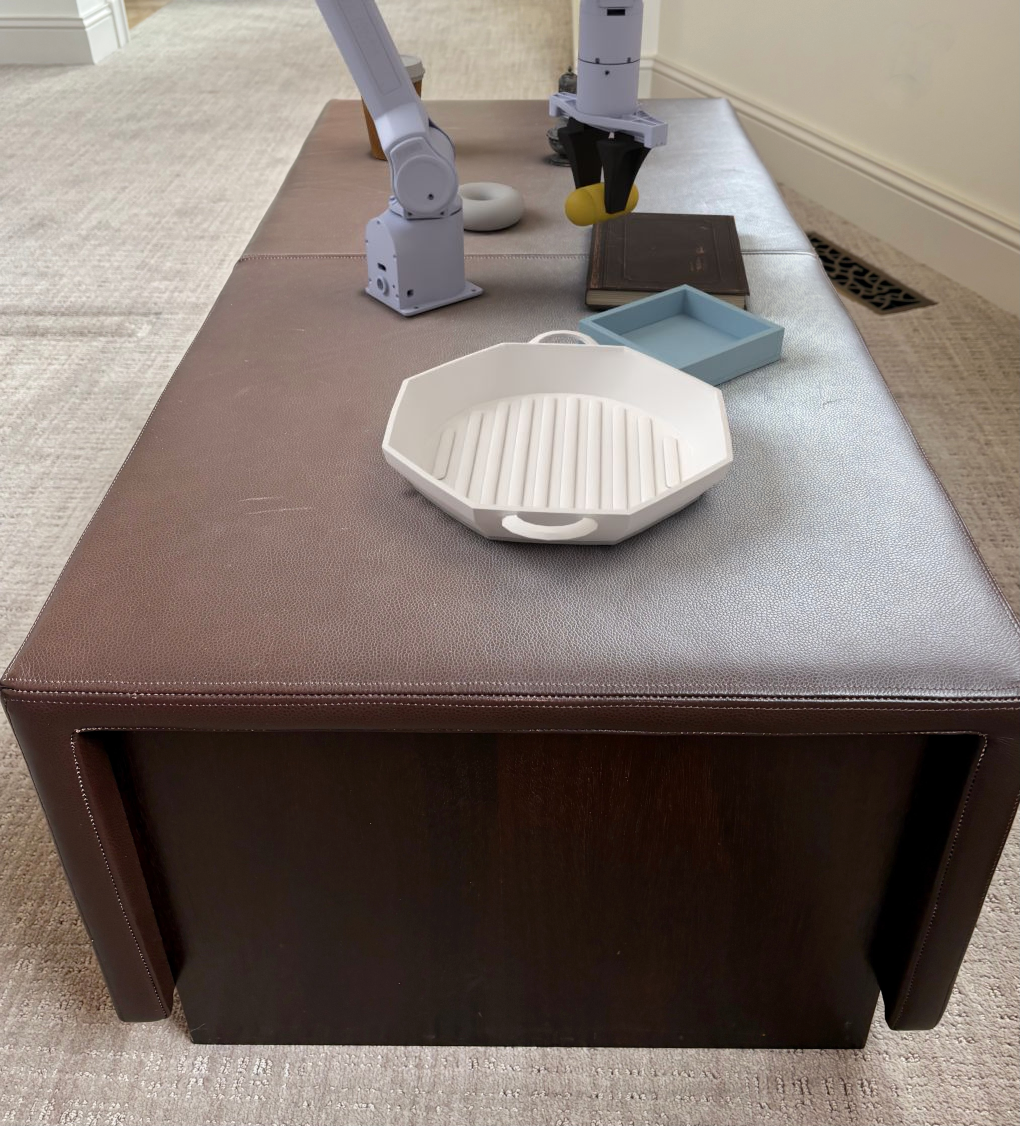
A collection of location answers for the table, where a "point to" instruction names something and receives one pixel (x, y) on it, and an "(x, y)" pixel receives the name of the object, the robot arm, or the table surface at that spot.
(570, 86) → the salt shaker
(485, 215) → the donut
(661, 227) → the hardcover book
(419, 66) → the disposable coffee cup
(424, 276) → the robot arm
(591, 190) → the yellow rounded capsule
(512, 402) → the pan
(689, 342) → the tray
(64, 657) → the table surface
